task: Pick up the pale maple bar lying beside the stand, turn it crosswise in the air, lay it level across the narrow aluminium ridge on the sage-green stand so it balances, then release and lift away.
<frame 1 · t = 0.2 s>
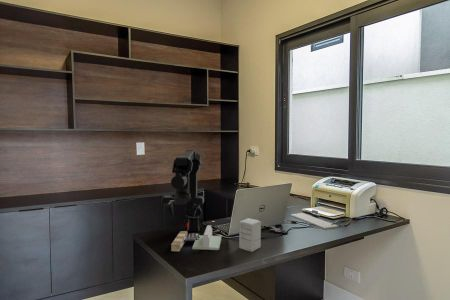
hand: (182, 218, 143), 13 cm above the table, tool pointing down, fingers open, 9 cm apart
grey flat block: (314, 222, 190), on the table
maple bar: (179, 244, 148), on the table
ridge stand: (207, 243, 150), on the table
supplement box: (249, 248, 144), on the table
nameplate: (270, 228, 176), on the table
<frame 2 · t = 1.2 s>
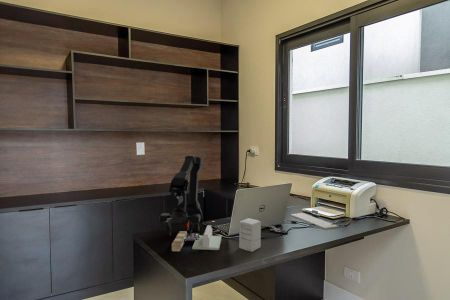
hand: (179, 235, 148), 4 cm above the table, tool pointing down, fingers open, 9 cm apart
nothing on the table moved.
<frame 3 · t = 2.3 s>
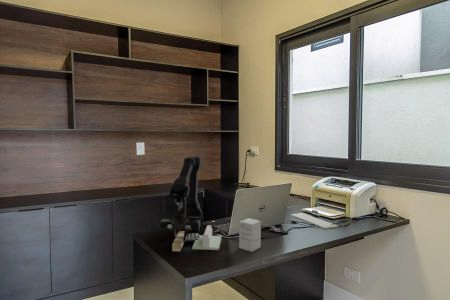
hand: (179, 241, 148), 1 cm above the table, tool pointing down, fingers closed on maple bar, 4 cm apart
maple bar: (179, 244, 148), on the table, touching gripper
everything else where it was.
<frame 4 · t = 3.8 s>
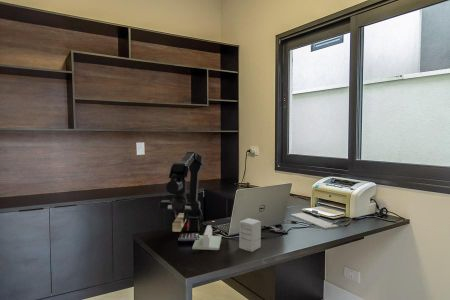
hand: (179, 222, 148), 10 cm above the table, tool pointing down, fingers closed on maple bar, 4 cm apart
maple bar: (179, 225, 148), point 9 cm above the table, touching gripper
everything else where it was.
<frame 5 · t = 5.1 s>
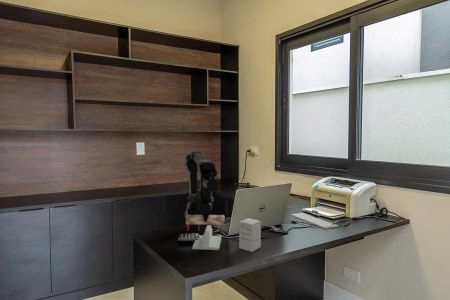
hand: (205, 220, 149), 11 cm above the table, tool pointing down, fingers closed on maple bar, 3 cm apart
maple bar: (205, 223, 149), point 10 cm above the table, touching gripper
everything else where it was.
when the fingers open (8 cm above the table, at t = 7.0 s): maple bar stays where it is, resting on ridge stand.
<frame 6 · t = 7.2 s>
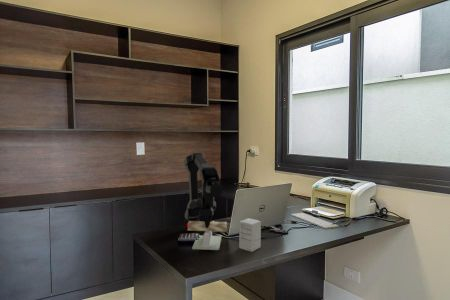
hand: (207, 225, 149), 8 cm above the table, tool pointing down, fingers open, 6 cm apart
maple bar: (207, 229, 149), point 6 cm above the table, touching ridge stand
everything else where it was.
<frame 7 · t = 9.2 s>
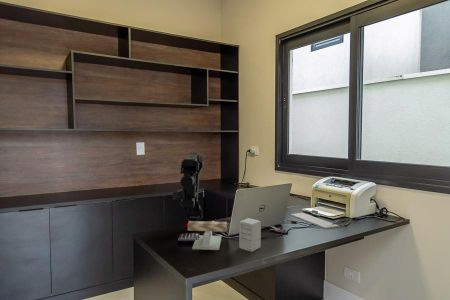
hand: (189, 215, 154), 12 cm above the table, tool pointing down, fingers open, 9 cm apart
nothing on the table moved.
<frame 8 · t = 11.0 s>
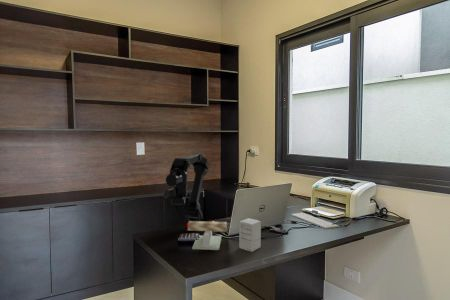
hand: (181, 214, 156), 12 cm above the table, tool pointing down, fingers open, 9 cm apart
nothing on the table moved.
at the end: maple bar 0.1 cm off-centre on the ridge stand, point 6.5 cm above the ridge stand's base; maple bar tilted 0°; the gripper is holding nothing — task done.
